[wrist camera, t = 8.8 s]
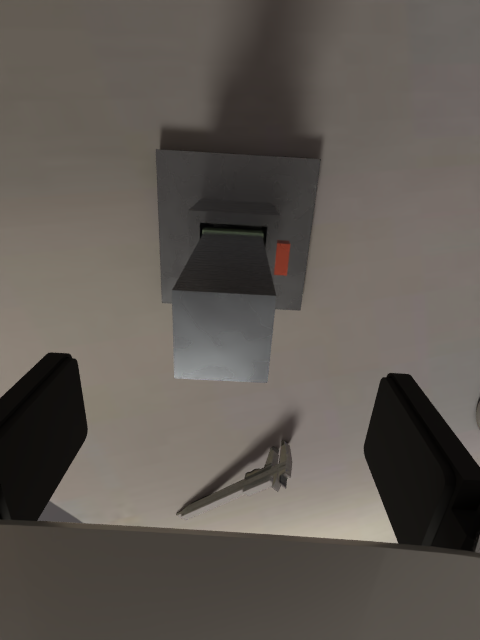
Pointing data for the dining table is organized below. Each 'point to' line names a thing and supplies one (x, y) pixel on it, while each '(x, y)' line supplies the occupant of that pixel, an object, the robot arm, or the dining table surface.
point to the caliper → (248, 483)
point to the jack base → (237, 211)
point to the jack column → (224, 308)
